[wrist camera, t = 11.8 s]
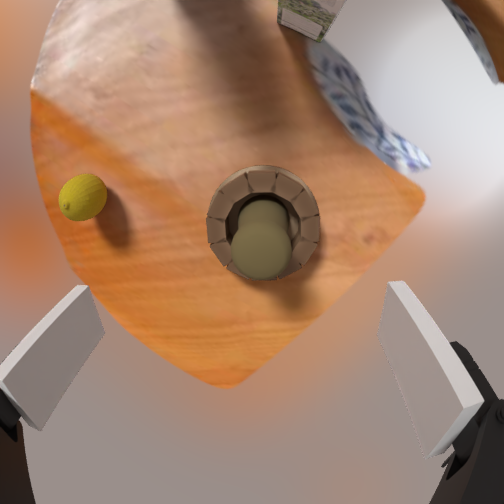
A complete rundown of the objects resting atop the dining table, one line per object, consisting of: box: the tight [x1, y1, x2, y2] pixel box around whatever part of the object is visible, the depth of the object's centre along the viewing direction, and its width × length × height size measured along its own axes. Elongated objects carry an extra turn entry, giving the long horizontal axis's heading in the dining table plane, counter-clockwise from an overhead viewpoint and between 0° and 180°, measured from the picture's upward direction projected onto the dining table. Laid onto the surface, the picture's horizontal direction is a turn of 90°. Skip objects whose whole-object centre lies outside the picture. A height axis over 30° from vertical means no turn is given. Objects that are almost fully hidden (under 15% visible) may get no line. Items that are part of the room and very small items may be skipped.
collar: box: [206, 165, 320, 280], centre depth 32 cm, size 13×13×4 cm
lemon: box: [59, 174, 107, 221], centre depth 30 cm, size 6×6×8 cm
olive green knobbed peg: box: [231, 195, 292, 280], centre depth 28 cm, size 6×6×11 cm
